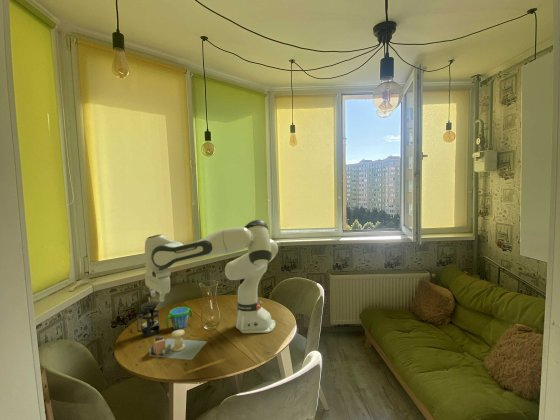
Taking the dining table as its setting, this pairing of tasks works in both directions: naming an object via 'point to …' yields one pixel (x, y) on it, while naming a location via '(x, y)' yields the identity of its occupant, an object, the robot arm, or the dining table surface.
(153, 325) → the french press
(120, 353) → the dining table surface
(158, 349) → the tab block
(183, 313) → the snack cup
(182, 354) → the bobbin board
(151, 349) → the notch block
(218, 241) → the robot arm
